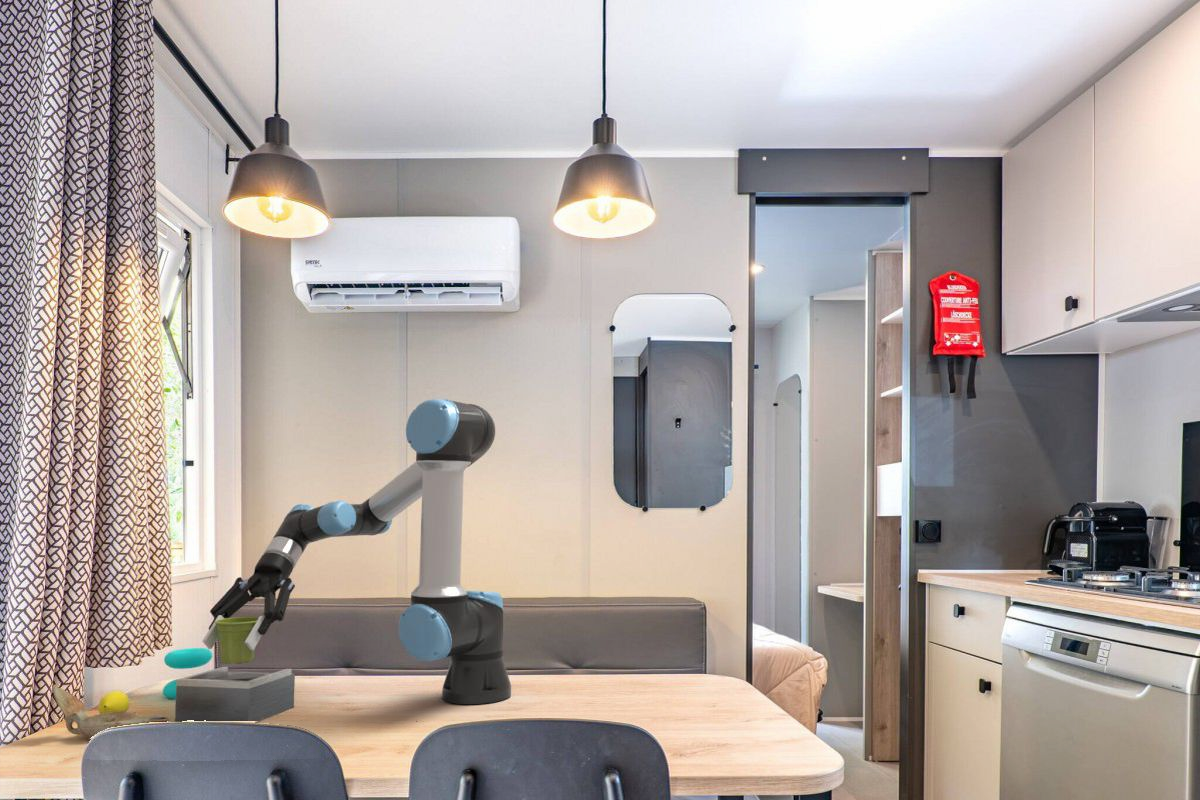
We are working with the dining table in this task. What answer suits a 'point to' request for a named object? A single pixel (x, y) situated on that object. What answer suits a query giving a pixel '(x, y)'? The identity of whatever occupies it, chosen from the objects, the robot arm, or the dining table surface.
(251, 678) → the gray open-top box
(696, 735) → the dining table surface
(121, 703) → the lemon
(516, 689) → the dining table surface
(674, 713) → the dining table surface
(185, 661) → the donuts
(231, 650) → the plant pot
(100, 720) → the oil lamp
